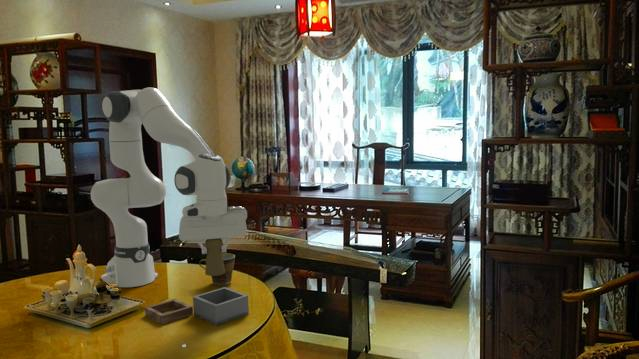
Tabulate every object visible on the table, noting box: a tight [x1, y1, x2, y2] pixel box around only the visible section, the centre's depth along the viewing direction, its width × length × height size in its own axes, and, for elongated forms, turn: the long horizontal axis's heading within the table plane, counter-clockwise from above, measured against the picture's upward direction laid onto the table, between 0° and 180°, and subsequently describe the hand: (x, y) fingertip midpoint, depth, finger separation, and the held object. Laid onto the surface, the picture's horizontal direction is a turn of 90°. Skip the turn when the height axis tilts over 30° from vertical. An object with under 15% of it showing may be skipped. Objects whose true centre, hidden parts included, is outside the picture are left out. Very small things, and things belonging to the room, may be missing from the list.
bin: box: [192, 286, 250, 327], centre depth 160 cm, size 12×12×6 cm
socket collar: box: [144, 298, 194, 325], centre depth 160 cm, size 10×10×2 cm
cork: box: [204, 238, 225, 277], centre depth 157 cm, size 6×6×11 cm
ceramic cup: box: [198, 252, 236, 287], centre depth 189 cm, size 13×10×10 cm
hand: (214, 252), depth 157 cm, fingers closed on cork, 4 cm apart
